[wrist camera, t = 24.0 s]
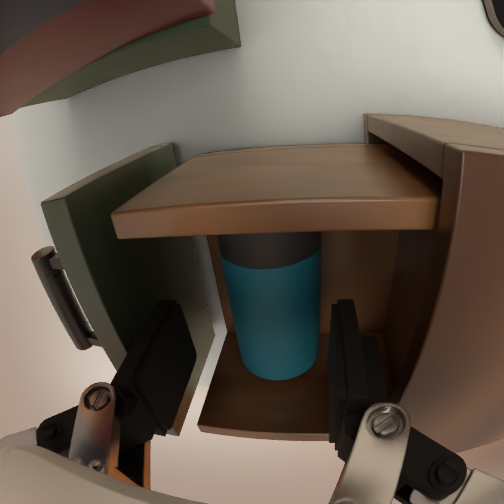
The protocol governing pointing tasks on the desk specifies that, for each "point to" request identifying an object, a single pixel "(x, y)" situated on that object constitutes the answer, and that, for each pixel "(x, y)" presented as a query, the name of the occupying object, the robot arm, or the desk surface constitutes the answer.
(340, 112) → the desk surface
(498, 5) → the smartphone
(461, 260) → the cabinet
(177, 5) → the notebooks
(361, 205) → the drawer
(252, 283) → the bottle
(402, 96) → the desk surface
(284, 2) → the desk surface
